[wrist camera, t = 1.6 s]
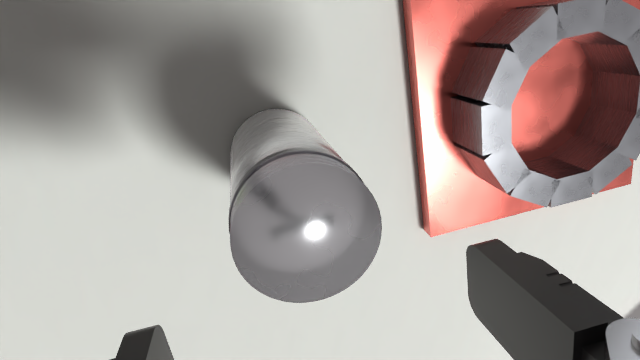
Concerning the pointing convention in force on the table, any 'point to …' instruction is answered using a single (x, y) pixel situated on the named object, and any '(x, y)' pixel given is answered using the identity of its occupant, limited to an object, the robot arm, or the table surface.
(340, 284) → the cylinder
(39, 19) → the table surface
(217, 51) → the table surface
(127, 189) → the table surface
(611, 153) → the collar
